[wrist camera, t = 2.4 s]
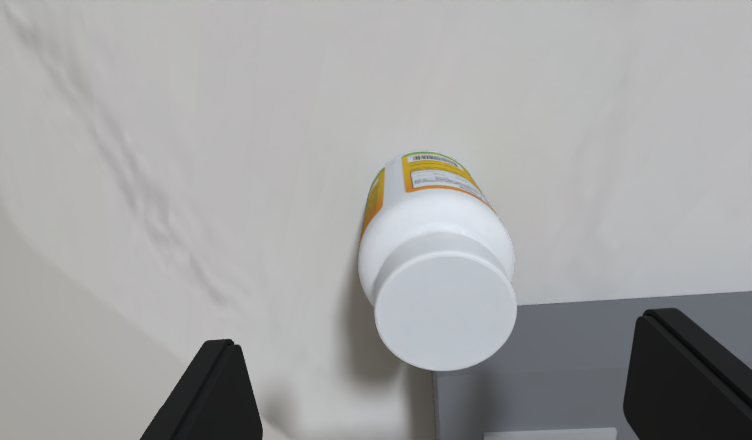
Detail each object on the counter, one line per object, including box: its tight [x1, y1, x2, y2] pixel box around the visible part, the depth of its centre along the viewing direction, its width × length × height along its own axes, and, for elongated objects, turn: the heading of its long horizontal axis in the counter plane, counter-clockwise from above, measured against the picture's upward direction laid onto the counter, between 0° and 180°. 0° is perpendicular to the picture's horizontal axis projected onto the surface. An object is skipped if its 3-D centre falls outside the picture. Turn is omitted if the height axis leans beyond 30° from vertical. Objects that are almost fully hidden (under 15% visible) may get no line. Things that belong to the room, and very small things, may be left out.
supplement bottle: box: [358, 150, 517, 371], centre depth 16 cm, size 5×5×10 cm
